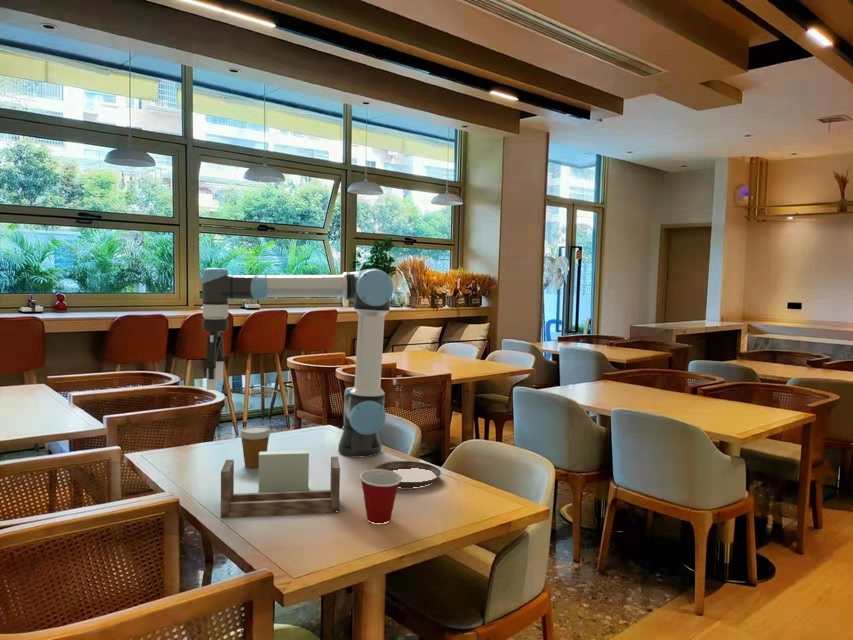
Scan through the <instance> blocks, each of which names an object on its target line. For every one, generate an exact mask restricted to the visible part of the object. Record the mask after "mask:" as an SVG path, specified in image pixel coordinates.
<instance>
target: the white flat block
mask: <svg viewBox="0 0 853 640" xmlns="http://www.w3.org/2000/svg"><path fill="white" fill-rule="evenodd" d="M309 465H310V450H309V449H308V450H306V449H305V450H280V451H279V450H278V451H277V450H271V451H268V450H267V452H259V468H258V493H265V492H273V491H279V492H290V491H309V473H310V472H309V470H310V468H309V467H310V466H309Z"/></svg>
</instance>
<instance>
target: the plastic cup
mask: <svg viewBox="0 0 853 640" xmlns="http://www.w3.org/2000/svg"><path fill="white" fill-rule="evenodd" d="M359 479H360V481H361V486H362V491H363V498H364V506H365V511H366V519H367V521H368V520H369V521H371V522H374V523H384V522H387V521H389V520H390V521H391V520H392V514H393V510H394V505H395V501H396V495H397V491H398V486H399V483H400V482H401V480H402V477H401V476H400V475H399V474H397V473H395V472H393V471H389V470H382V469H375V468H374V469H367V470H364V471H362V472H361V473H360V475H359Z"/></svg>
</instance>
